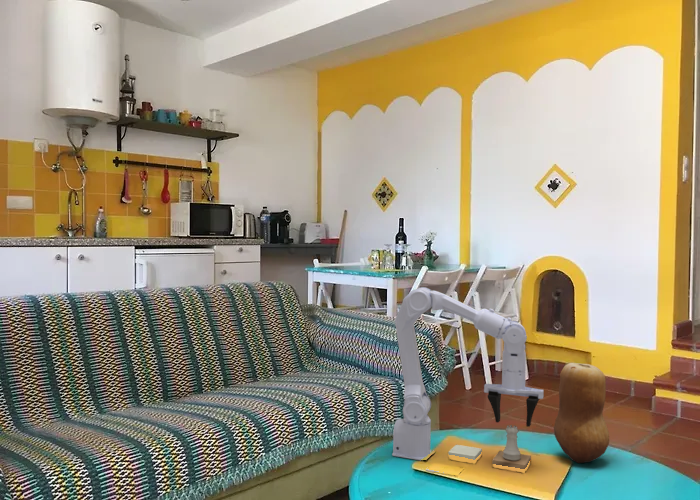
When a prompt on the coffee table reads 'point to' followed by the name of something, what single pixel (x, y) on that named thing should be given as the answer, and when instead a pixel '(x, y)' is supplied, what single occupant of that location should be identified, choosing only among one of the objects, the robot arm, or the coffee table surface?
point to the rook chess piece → (511, 444)
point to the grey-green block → (465, 451)
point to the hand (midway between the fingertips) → (513, 423)
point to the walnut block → (520, 463)
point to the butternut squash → (582, 413)
